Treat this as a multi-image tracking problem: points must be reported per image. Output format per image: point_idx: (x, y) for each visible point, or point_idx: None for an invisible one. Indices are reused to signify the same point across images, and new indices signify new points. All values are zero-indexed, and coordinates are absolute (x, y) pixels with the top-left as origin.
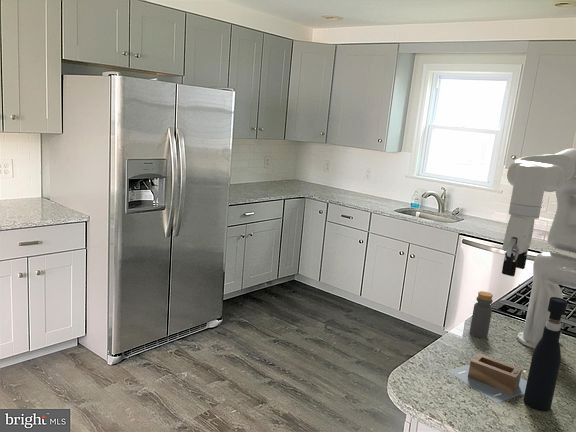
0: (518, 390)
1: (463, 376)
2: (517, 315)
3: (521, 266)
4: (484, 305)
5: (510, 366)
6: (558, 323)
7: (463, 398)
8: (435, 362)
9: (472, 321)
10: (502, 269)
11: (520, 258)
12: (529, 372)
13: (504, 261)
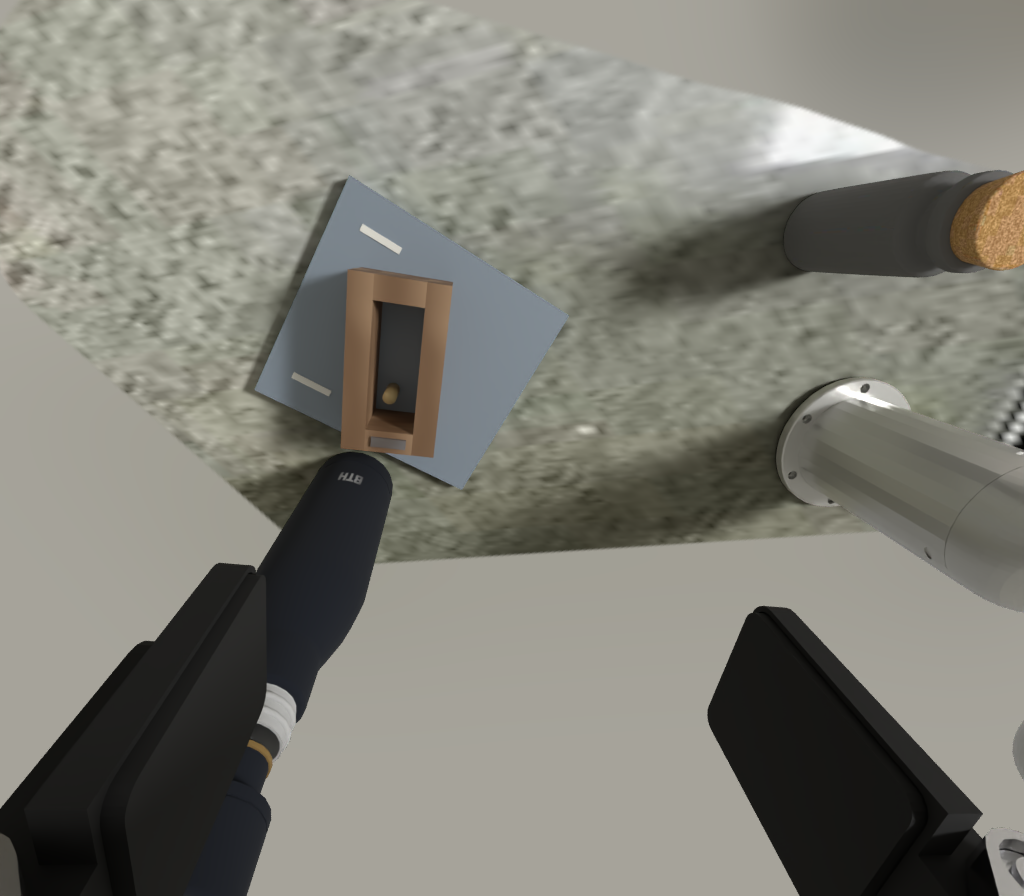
0: None
1: (353, 251)
2: None
3: (725, 721)
4: (921, 233)
5: (421, 420)
6: (274, 750)
7: (224, 280)
8: (427, 106)
9: (850, 191)
10: (187, 604)
11: (815, 815)
12: (310, 507)
13: (67, 768)
